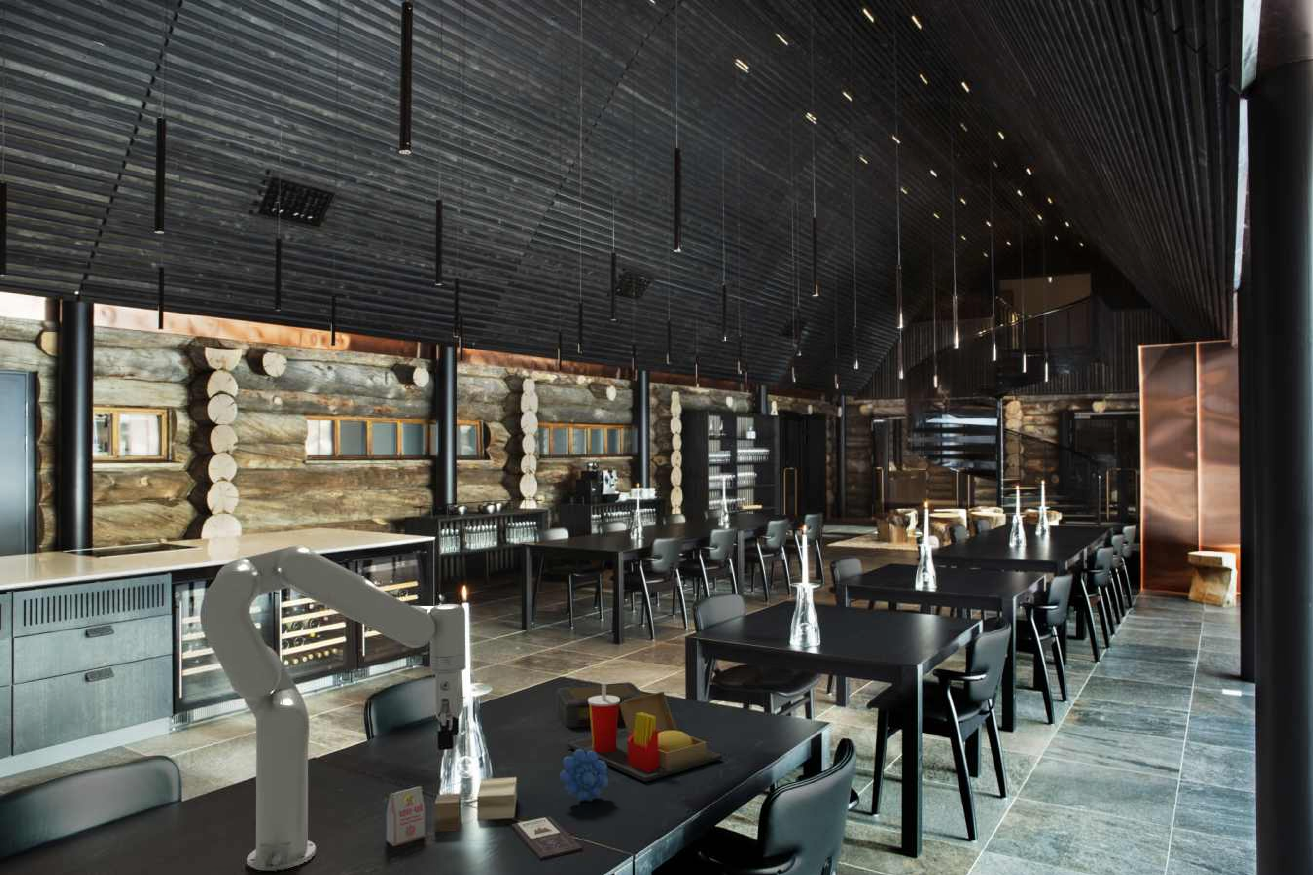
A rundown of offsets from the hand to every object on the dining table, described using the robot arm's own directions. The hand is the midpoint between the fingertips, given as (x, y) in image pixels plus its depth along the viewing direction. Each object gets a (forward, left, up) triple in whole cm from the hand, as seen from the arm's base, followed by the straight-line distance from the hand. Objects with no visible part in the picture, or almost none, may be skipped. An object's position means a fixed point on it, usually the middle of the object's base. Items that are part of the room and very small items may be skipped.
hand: (448, 741), depth 185 cm
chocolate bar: (-9, -21, -19) cm, 30 cm away
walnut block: (0, 0, -18) cm, 18 cm away
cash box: (+79, -37, -19) cm, 89 cm away
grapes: (+9, -30, -18) cm, 36 cm away
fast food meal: (+40, -46, -19) cm, 64 cm away
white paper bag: (-5, +8, -18) cm, 21 cm away
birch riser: (+8, -10, -18) cm, 22 cm away
